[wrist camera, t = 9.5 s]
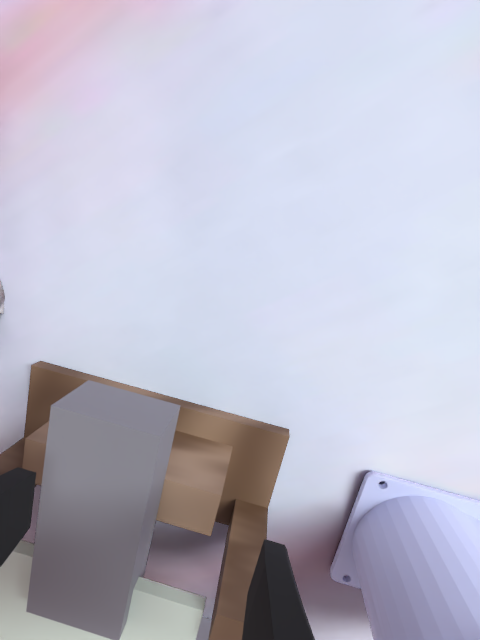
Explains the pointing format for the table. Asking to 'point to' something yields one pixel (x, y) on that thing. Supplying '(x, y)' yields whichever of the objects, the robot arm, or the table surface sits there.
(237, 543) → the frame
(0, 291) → the stone
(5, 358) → the table surface
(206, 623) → the granite cube
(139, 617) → the trapdoor
